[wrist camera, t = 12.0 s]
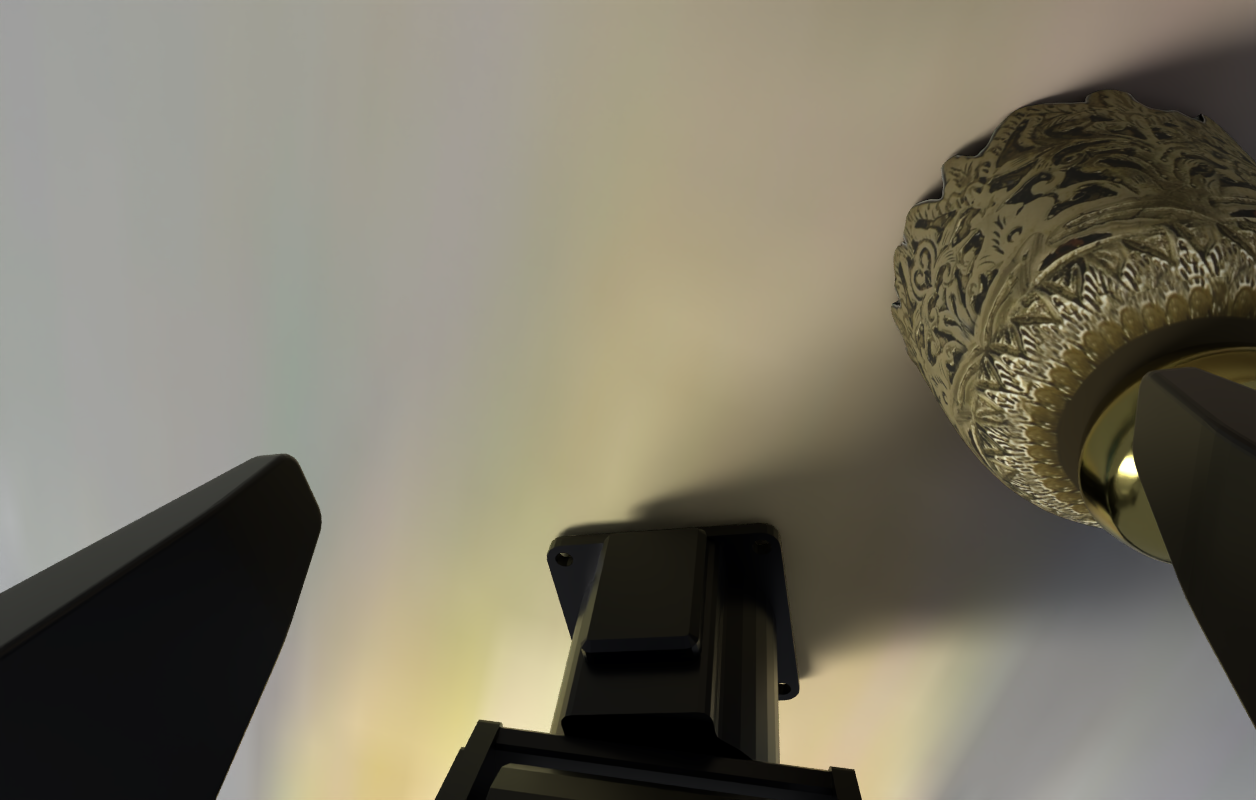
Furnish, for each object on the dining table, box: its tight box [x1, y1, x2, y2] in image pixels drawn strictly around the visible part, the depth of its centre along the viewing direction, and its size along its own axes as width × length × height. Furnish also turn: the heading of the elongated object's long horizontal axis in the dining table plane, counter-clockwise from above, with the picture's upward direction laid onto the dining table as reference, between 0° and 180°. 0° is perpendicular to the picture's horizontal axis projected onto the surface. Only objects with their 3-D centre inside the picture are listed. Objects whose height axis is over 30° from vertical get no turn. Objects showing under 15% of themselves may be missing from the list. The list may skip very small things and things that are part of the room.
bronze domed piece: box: [891, 90, 1256, 564], centre depth 16 cm, size 8×7×8 cm
